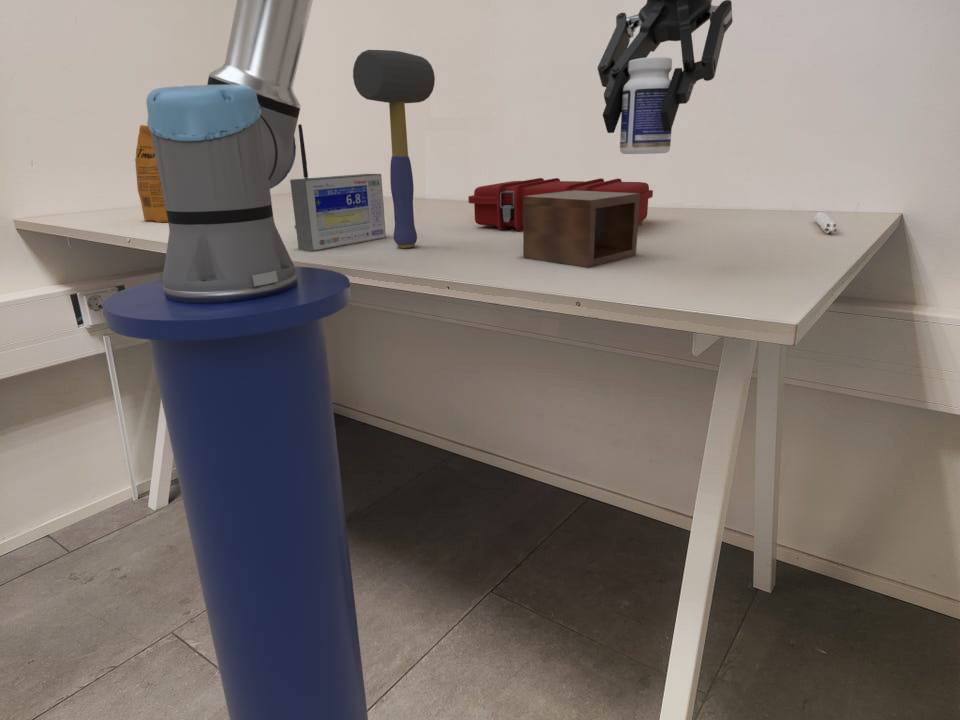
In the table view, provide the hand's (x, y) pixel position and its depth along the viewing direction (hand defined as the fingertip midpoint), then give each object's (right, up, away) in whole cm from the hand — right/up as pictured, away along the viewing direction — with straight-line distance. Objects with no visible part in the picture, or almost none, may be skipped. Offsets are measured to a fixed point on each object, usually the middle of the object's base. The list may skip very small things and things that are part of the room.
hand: (636, 122), depth 68 cm
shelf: (-2, -11, +25) cm, 27 cm away
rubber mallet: (-30, -7, +36) cm, 48 cm away
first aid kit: (-1, +1, +58) cm, 58 cm away
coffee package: (-93, +8, +84) cm, 126 cm away
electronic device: (-43, -5, +43) cm, 61 cm away
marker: (+46, -2, +45) cm, 65 cm away
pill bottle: (+2, -2, +4) cm, 5 cm away
